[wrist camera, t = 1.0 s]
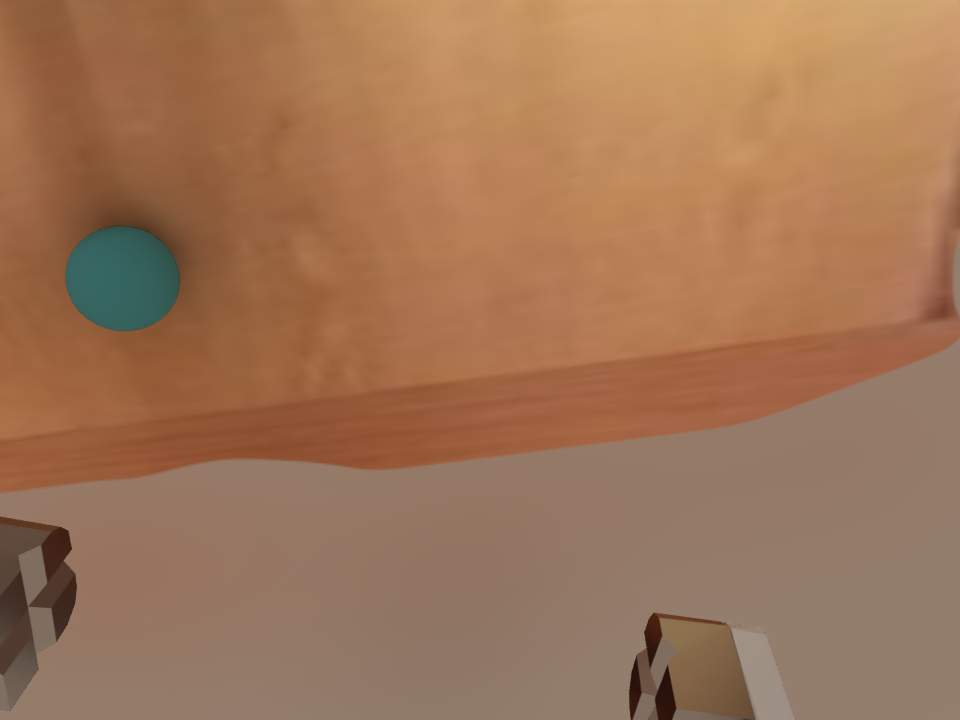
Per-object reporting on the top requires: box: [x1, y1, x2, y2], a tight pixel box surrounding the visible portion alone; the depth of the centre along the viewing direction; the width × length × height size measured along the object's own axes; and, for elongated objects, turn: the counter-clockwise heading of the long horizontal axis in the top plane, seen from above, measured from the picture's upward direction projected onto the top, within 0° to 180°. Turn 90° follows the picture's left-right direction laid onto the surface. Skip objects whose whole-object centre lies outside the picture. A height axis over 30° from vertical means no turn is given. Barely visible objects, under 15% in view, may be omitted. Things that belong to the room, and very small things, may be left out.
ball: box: [65, 226, 180, 331], centre depth 46 cm, size 6×6×6 cm
